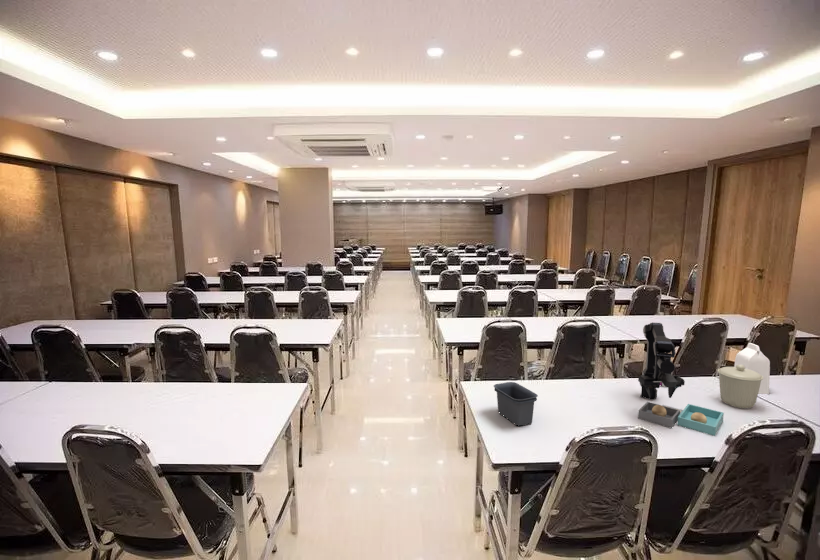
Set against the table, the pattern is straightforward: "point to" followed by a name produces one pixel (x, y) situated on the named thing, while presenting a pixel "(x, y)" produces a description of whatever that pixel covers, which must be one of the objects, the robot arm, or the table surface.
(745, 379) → the canister
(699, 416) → the maple ball resting
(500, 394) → the storage bin
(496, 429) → the table surface
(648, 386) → the robot arm
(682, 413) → the holder
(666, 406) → the pattern card
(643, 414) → the tray
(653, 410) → the maple ball
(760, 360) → the milk
